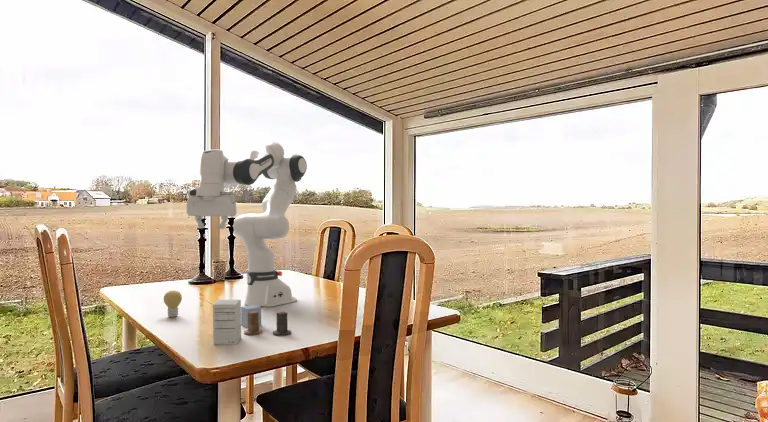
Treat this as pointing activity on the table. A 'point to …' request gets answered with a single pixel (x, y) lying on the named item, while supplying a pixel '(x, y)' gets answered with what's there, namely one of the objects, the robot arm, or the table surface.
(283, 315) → the black post
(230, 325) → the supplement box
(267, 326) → the table surface
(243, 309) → the cap
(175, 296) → the light bulb
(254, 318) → the walnut post
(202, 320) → the table surface
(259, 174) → the robot arm
